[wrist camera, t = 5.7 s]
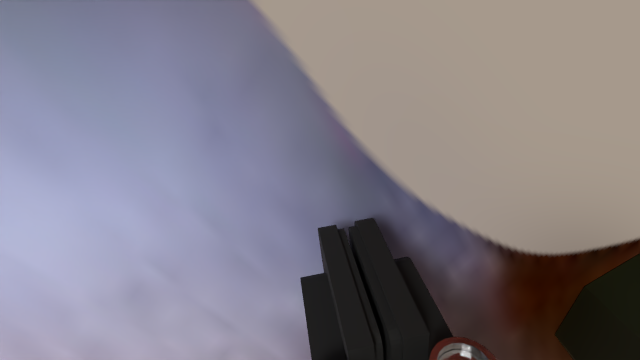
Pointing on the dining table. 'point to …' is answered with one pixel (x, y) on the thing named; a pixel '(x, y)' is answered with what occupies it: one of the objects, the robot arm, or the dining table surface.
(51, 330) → the dining table surface
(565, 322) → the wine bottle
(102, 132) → the dining table surface
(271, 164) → the dining table surface
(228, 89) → the dining table surface
